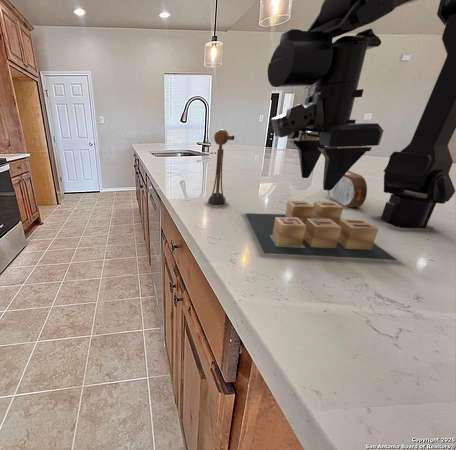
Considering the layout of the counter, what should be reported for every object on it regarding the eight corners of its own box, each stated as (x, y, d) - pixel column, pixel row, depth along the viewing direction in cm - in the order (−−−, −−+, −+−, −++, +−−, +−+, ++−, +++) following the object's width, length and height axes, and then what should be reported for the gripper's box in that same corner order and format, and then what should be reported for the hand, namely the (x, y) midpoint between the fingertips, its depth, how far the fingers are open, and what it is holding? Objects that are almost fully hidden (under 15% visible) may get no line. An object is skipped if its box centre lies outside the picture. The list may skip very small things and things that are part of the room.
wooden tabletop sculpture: (231, 205, 68) (239, 128, 60) (221, 209, 65) (227, 129, 57) (214, 201, 72) (219, 128, 64) (204, 204, 69) (208, 129, 62)
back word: (329, 218, 55) (333, 201, 54) (338, 225, 52) (343, 206, 50) (284, 217, 57) (287, 200, 55) (290, 223, 53) (293, 205, 52)
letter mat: (334, 217, 57) (334, 215, 57) (396, 263, 39) (397, 259, 39) (245, 215, 60) (245, 212, 60) (264, 256, 42) (264, 252, 42)
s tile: (294, 236, 47) (298, 217, 46) (301, 246, 43) (306, 225, 42) (272, 235, 48) (275, 216, 46) (278, 245, 44) (281, 224, 43)
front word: (357, 239, 45) (364, 219, 44) (371, 250, 42) (379, 228, 40) (302, 237, 47) (306, 217, 45) (311, 247, 43) (316, 226, 42)
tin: (362, 212, 60) (373, 178, 56) (348, 211, 60) (357, 178, 57) (334, 195, 73) (341, 167, 70) (322, 195, 74) (329, 167, 70)
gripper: (265, 94, 48) (257, 173, 54) (302, 80, 31) (283, 198, 37) (328, 90, 46) (311, 172, 52) (403, 72, 29) (366, 198, 35)
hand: (315, 183), depth 44 cm, fingers open, 9 cm apart
